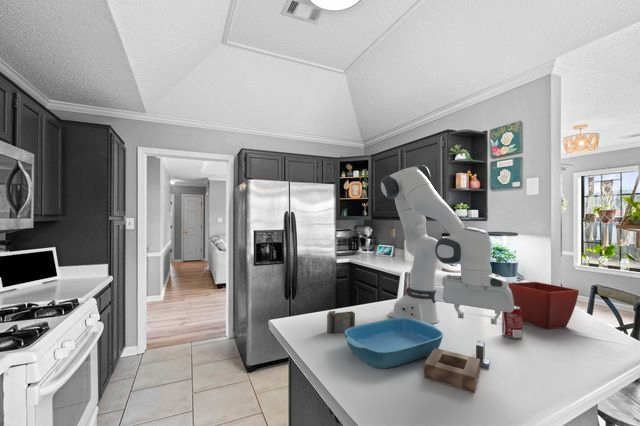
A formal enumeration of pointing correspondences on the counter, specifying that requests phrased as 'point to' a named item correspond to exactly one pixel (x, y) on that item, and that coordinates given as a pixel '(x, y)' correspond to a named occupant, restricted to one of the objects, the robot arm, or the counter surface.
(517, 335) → the soda can
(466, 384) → the block
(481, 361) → the bracket
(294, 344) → the counter surface
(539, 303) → the plant pot
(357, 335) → the casserole dish
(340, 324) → the brown flat upright block
